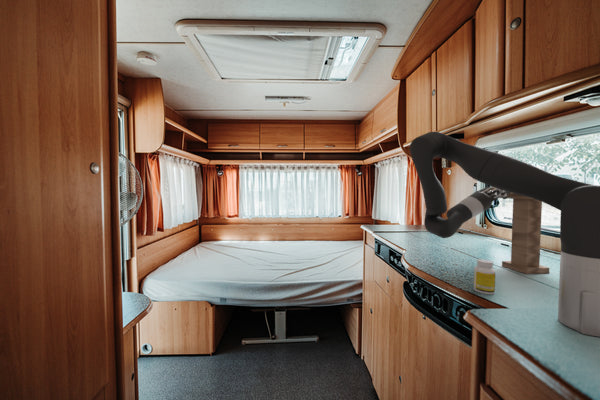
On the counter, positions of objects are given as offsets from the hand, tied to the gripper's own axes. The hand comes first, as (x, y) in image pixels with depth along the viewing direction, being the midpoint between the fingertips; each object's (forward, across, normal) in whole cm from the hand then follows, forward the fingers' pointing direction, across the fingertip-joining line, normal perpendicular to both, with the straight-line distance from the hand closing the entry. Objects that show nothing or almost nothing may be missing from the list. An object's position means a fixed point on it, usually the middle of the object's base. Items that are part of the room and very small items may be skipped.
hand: (507, 183), depth 96 cm
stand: (-10, 0, +35) cm, 36 cm away
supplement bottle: (-40, -17, +17) cm, 47 cm away
